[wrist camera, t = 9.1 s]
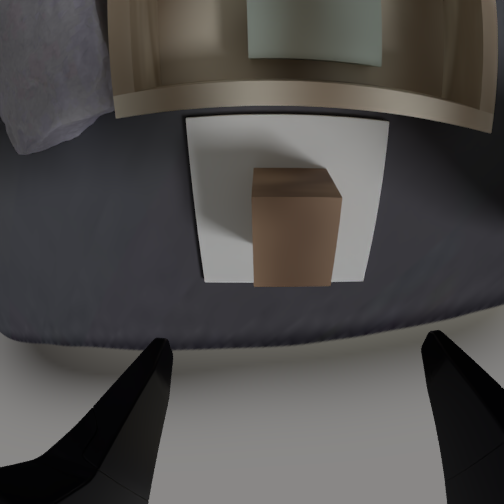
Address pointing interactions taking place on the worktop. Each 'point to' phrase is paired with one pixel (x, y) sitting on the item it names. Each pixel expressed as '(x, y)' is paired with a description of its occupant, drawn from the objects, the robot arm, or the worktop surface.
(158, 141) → the worktop surface
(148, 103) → the slot box
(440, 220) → the worktop surface
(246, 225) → the grey mat
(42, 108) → the stone block
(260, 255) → the walnut block
